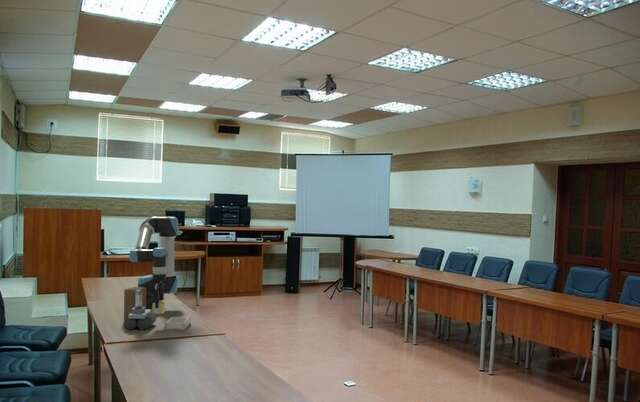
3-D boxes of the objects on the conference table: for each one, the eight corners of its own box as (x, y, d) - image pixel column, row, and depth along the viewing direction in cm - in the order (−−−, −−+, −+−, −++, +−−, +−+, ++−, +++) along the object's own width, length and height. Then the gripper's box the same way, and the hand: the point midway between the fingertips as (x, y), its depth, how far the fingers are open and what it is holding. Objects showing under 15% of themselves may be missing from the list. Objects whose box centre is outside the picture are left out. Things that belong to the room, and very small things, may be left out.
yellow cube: (155, 311, 287) (155, 301, 287) (165, 311, 288) (165, 302, 288) (152, 313, 282) (152, 303, 282) (162, 313, 283) (162, 303, 283)
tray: (171, 323, 295) (171, 316, 295) (190, 323, 295) (190, 317, 295) (164, 329, 280) (164, 323, 280) (184, 330, 280) (184, 323, 280)
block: (137, 322, 296) (138, 290, 296) (123, 321, 298) (123, 289, 298) (146, 318, 305) (146, 287, 305) (132, 317, 307) (132, 286, 307)
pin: (136, 311, 287) (136, 289, 286) (142, 311, 287) (143, 290, 287) (134, 312, 283) (134, 291, 283) (140, 312, 283) (140, 291, 283)
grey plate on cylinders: (131, 323, 292) (131, 305, 292) (156, 324, 292) (156, 305, 292) (122, 330, 278) (123, 310, 278) (148, 330, 278) (149, 310, 278)
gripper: (157, 271, 294) (157, 308, 294) (148, 275, 276) (147, 315, 276) (169, 271, 294) (169, 308, 294) (161, 276, 276) (160, 315, 276)
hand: (158, 312), depth 285 cm, fingers closed on yellow cube, 5 cm apart
